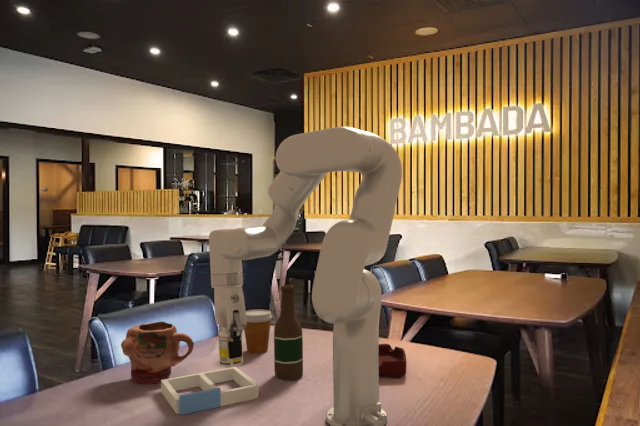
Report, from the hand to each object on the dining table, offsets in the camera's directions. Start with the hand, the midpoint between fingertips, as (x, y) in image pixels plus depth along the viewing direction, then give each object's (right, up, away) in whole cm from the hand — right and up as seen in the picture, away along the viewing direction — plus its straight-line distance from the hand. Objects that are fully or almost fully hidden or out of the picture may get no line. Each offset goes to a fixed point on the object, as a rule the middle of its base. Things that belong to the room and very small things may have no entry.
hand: (231, 354), depth 122 cm
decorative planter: (-21, -10, +11) cm, 26 cm away
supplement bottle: (0, -3, 0) cm, 3 cm away
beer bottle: (+13, -9, +11) cm, 20 cm away
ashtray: (+38, -9, +14) cm, 42 cm away
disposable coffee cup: (+2, -9, +35) cm, 36 cm away
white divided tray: (-5, -9, -1) cm, 11 cm away
